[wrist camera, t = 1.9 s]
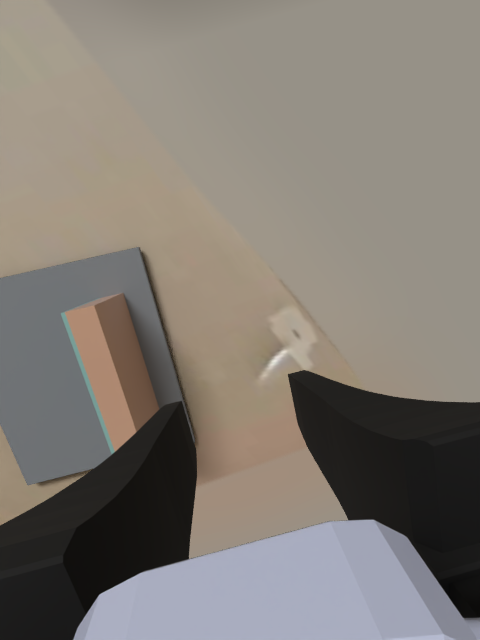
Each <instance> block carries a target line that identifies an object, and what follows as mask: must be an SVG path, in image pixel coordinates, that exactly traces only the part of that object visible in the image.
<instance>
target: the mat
mask: <svg viewBox="0 0 480 640" xmlns="http://www.w3.org/2000/svg"><path fill="white" fill-rule="evenodd" d="M120 293H123V294H124V297H125V300H126V303H127V307H128V310H129V313H130V316H131V319H132V323H133V326H134V329H135V332H136V336H137V339H138V342H139V345H140V348H141V352H142V355H143V358H144V361H145V364H146V368H147V371H148V374H149V377H150V381H151V384H152V387H153V390H154V393H155V397H156V400H157V403H158V406H159V409H160V408H162V407H163V406H164V405H166V404H170V403H174V402H178V401H182V403H183V406H184V410H185V413H186V417H187V420H188V423H189V427H190V430H191V434H192V437H193V441H194V443H195V437H194V434H193V430H192V427H191V423H190V420H189V416H188V413H187V409H186V406H185V403H184V399H183V396H182V392H181V389H180V385H179V382H178V378H177V375H176V371H175V368H174V364H173V361H172V358H171V354H170V351H169V347H168V344H167V340H166V337H165V333H164V330H163V326H162V323H161V319H160V316H159V313H158V309H157V306H156V302H155V299H154V295H153V292H152V288H151V285H150V281H149V278H148V274H147V271H146V268H145V264H144V261H143V257H142V254H141V250H140V247H137V248H132V249H128V250H124V251H119V252H115V253H110V254H106V255H101V256H97V257H92V258H88V259H84V260H79V261H75V262H70V263H66V264H61V265H57V266H52V267H48V268H44V269H39V270H35V271H30V272H26V273H21V274H17V275H12V276H8V277H4V278H0V425H1V427H2V429H3V431H4V434H5V436H6V438H7V440H8V443H9V445H10V447H11V449H12V452H13V454H14V456H15V458H16V461H17V463H18V465H19V467H20V470H21V472H22V474H23V476H24V478H25V481H26V483H27V485H31V484H35V483H39V482H43V481H46V480H50V479H54V478H58V477H62V476H66V475H70V474H74V473H78V472H82V471H86V470H90V469H94V468H95V467H97V466H98V465H99V464H101V463H102V462H103V461H105V460H106V459H107V458H108V457H109V456H111V455H112V454H111V451H110V448H109V446H108V443H107V440H106V437H105V434H104V432H103V429H102V426H101V423H100V421H99V418H98V415H97V412H96V410H95V407H94V404H93V401H92V399H91V396H90V393H89V390H88V388H87V385H86V382H85V379H84V377H83V374H82V371H81V368H80V366H79V363H78V360H77V357H76V355H75V352H74V349H73V346H72V344H71V341H70V338H69V335H68V333H67V330H66V327H65V324H64V322H63V319H62V316H61V313H62V312H65V311H68V310H70V309H73V308H75V307H78V306H80V305H83V304H85V303H88V302H91V301H93V300H96V299H98V298H103V297H107V296H111V295H116V294H120Z"/></svg>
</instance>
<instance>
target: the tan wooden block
mask: <svg viewBox="0 0 480 640" xmlns="http://www.w3.org/2000/svg"><path fill="white" fill-rule="evenodd" d="M61 316H62V319H63V322H64V324H65V327H66V330H67V333H68V335H69V338H70V341H71V344H72V346H73V349H74V352H75V355H76V357H77V360H78V363H79V366H80V368H81V371H82V374H83V377H84V379H85V382H86V385H87V388H88V390H89V393H90V396H91V399H92V401H93V404H94V407H95V410H96V412H97V415H98V418H99V421H100V423H101V426H102V429H103V432H104V434H105V437H106V440H107V443H108V446H109V448H110V451H111V454H113V453H114V452H115V451H116V450H118V449H119V448H120V447H121V446H122V445H123V444H124V443H125V442H126V441H127V440H129V439H130V438H131V437H132V436H133V435H134V434H135V433H136V432H137V431H138V430H139V429H140V428H141V427H142V426H143V425H144V424H145V423H146V422H147V421H148V420H149V419H150V418H151V417H152V416H153V415H154V414H155V413H156V412H157V411H158V410H159V406H158V403H157V400H156V397H155V393H154V390H153V387H152V384H151V381H150V377H149V374H148V371H147V368H146V364H145V361H144V358H143V355H142V352H141V348H140V345H139V342H138V339H137V336H136V332H135V329H134V326H133V323H132V319H131V316H130V313H129V310H128V307H127V303H126V300H125V297H124V294H123V293H120V294H116V295H111V296H107V297H103V298H98V299H96V300H93V301H91V302H88V303H85V304H83V305H80V306H78V307H75V308H73V309H70V310H68V311H65V312H62V313H61Z"/></svg>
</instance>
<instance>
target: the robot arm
mask: <svg viewBox="0 0 480 640" xmlns="http://www.w3.org/2000/svg"><path fill="white" fill-rule="evenodd" d="M288 377H289V382H290V387H291V392H292V397H293V402H294V407H295V412H296V417H297V422H298V426H299V428H300V430H301V433H302V435H303V438H304V440H305V442H306V445H307V447H308V449H309V451H310V452H311V454H312V456H313V457H314V459H315V461H316V463H317V464H318V466H319V468H320V470H321V471H322V473H323V475H324V476H325V478H326V480H327V481H328V483H329V485H330V487H331V488H332V490H333V491H334V493H335V495H336V497H337V498H338V500H339V502H340V504H341V506H342V508H343V510H344V512H345V514H346V515H347V518H348V520H346V521H328V522H324V523H320V524H316V525H313V526H309V527H305V528H302V529H298V530H294V531H291V532H287V533H283V534H279V535H276V536H272V537H268V538H265V539H262V540H258V541H254V542H250V543H246V544H243V545H240V546H235V547H232V548H228V549H225V550H221V551H217V552H214V553H210V554H206V555H202V556H199V557H195V558H191V559H189V546H190V534H191V524H192V515H193V508H194V499H195V489H196V480H197V458H196V448H195V444H194V441H193V437H192V434H191V430H190V427H189V423H188V420H187V417H186V413H185V410H184V406H183V403H182V401H178V402H174V403H170V404H166V405H164V406H163V407H162V408H160V409H159V410H158V411H157V412H156V413H155V414H154V415H153V416H152V417H151V418H150V419H149V420H148V421H147V422H146V423H145V424H144V425H143V426H142V427H141V428H140V429H139V430H138V431H137V432H136V433H135V434H134V435H133V436H132V437H131V438H130V439H129V440H127V441H126V442H125V443H124V444H123V445H122V446H121V447H120V448H119V449H118V450H116V451H115V452H114V453H113V454H112V455H111V456H109V457H108V458H107V459H106V460H105V461H103V462H102V463H101V464H99V465H98V466H97V467H95V468H94V469H93V470H91V471H90V472H89V473H87V474H86V475H85V476H83V477H82V478H80V479H79V480H77V481H76V482H74V483H72V484H71V485H69V486H68V487H66V488H65V489H63V490H62V491H60V492H59V493H57V494H56V495H54V496H53V497H51V498H49V499H48V500H46V501H44V502H42V503H41V504H39V505H37V506H36V507H34V508H32V509H30V510H28V511H27V512H25V513H23V514H21V515H19V516H17V517H16V518H14V519H12V520H10V521H8V522H6V523H4V524H2V525H0V640H480V402H476V403H467V402H439V401H424V400H416V399H406V398H399V397H393V396H387V395H383V394H377V393H373V392H369V391H365V390H361V389H358V388H354V387H351V386H348V385H345V384H342V383H339V382H336V381H333V380H330V379H328V378H325V377H323V376H320V375H317V374H315V373H312V372H309V371H306V370H303V371H299V372H295V373H291V374H288Z"/></svg>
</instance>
